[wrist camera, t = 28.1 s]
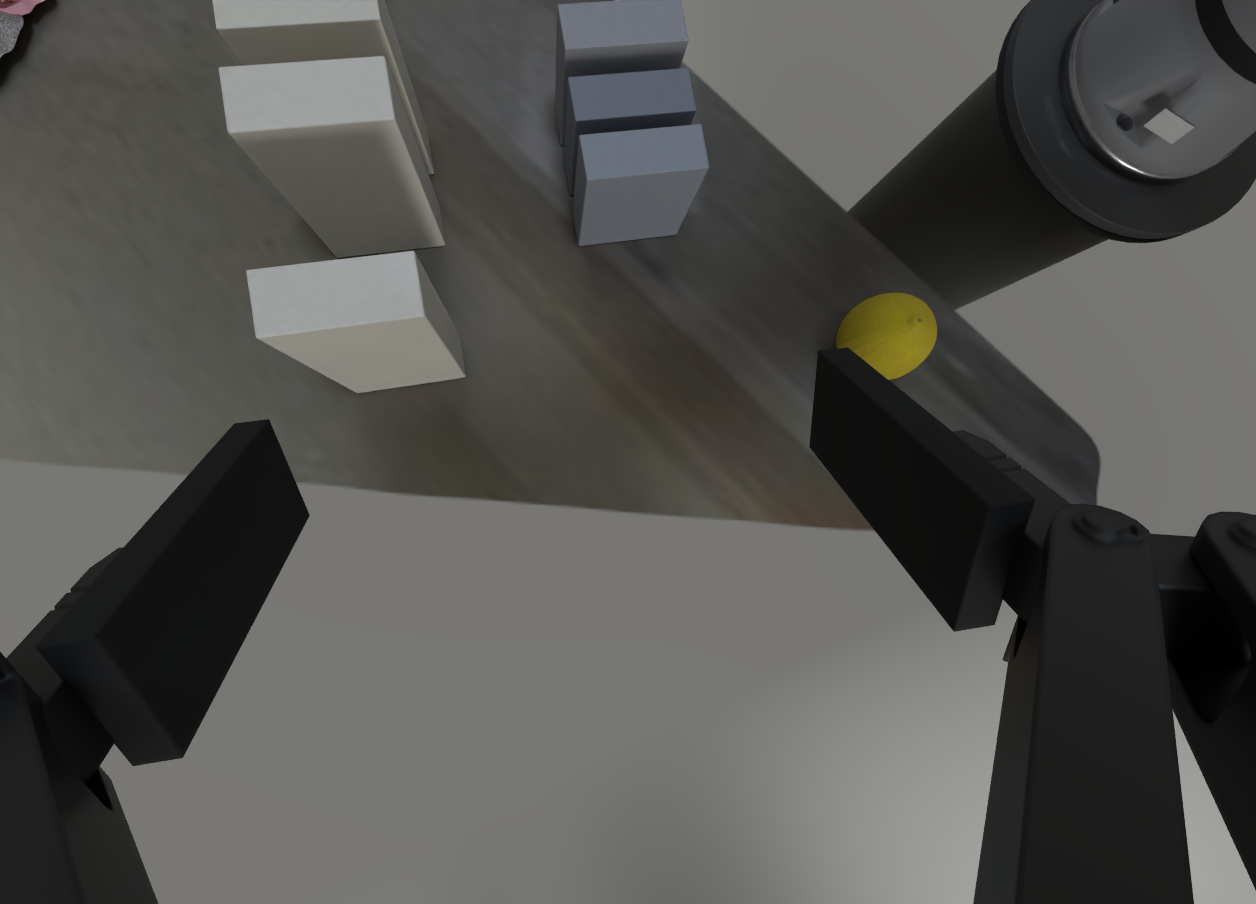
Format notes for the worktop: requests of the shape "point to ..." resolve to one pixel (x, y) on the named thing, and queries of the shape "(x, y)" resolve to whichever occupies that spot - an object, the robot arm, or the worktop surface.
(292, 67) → the cream book row
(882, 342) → the lemon
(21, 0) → the candy landscape model
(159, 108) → the worktop surface
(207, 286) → the worktop surface
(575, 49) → the grey books
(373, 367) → the cream tall block
